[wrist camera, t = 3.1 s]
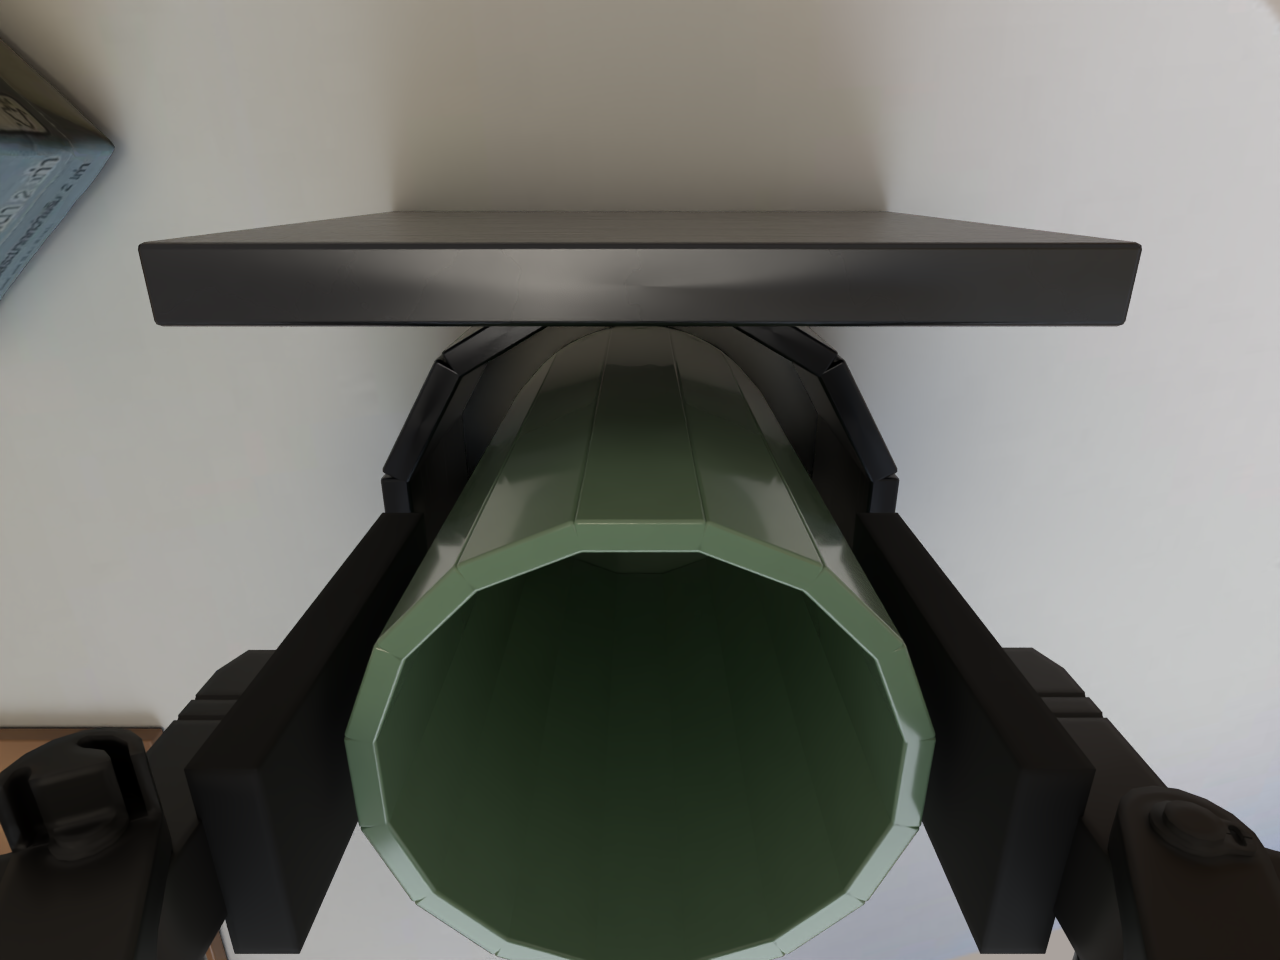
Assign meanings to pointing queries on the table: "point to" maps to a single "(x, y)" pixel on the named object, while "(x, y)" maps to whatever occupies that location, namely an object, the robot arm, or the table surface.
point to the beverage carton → (39, 161)
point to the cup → (639, 681)
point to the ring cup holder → (640, 302)
